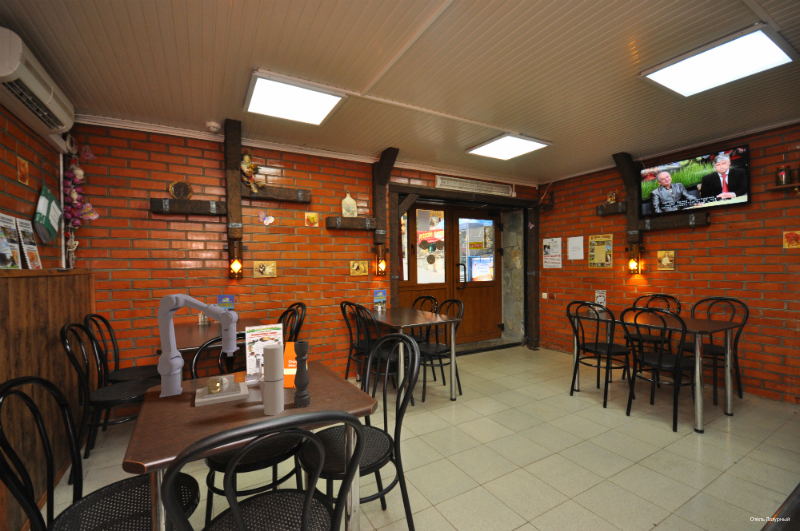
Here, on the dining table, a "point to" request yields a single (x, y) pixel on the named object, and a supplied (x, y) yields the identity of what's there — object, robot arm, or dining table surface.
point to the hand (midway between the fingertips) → (229, 369)
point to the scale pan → (224, 390)
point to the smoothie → (262, 388)
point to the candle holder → (301, 374)
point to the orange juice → (290, 365)
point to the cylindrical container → (273, 379)
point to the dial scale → (222, 398)
